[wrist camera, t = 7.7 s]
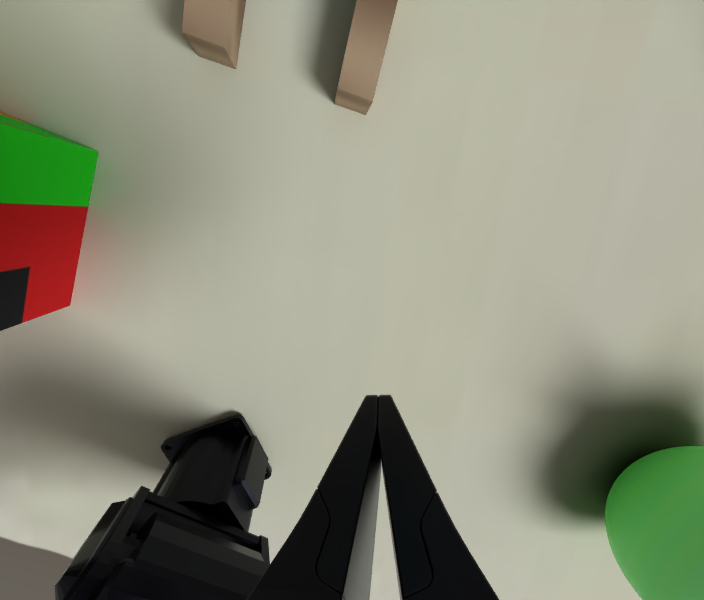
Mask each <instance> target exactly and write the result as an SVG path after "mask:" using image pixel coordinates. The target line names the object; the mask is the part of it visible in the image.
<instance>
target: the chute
mask: <svg viewBox="0 0 704 600" xmlns="http://www.w3.org/2000/svg"><path fill="white" fill-rule="evenodd" d="M397 1H398V0H357V1H356V5H355V10H354V15H353V19H352V24H351V28H350V33H349V37H348V42H347V46H346V51H345V56H344V60H343V65H342V69H341V74H340V78H339V83H338V87H337V93H336V99H335V104H336V105H339V106H342V107H345V108H348V109H350V110H353V111H356V112H359V113H362V114H365V115H366V114H367V112H368V110H369V108H370V106H371V104H372V102H373V98H374V94H375V90H376V86H377V82H378V78H379V73H380V69H381V65H382V61H383V57H384V53H385V49H386V45H387V41H388V37H389V33H390V29H391V25H392V21H393V17H394V13H395V9H396V5H397ZM245 2H246V0H184V11H183V21H182V31H181V32H182V33H183V35H184V36H185V37H186V39H187V40H188V42H189V43H190V44H191V46H192V47H193V48H194V50H195V51H196V53H197V54H198V55H199V56H200V57H203V58H206V59H209V60H212V61H215V62H217V63H220V64H223V65H226V66H229V67H232V68H234V69H236V66H237V59H238V52H239V45H240V38H241V30H242V23H243V16H244V9H245Z"/></svg>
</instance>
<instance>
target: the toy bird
mask: <svg viewBox="0 0 704 600" xmlns="http://www.w3.org/2000/svg"><path fill="white" fill-rule="evenodd" d="M605 524H606V531H607V536H608V540H609V543H610V546H611V549H612V552H613V554H614V556H615V558H616V561H617V563H618V565H619V566H620V568H621V570H622V572H623V573H624V575H625V577H626V578H627V580H628V581H629V583H630V584H631V586H632V587H633V588H634V590H635V591H636V592H637V593H638V595H639V596H640V597H641V598H642V600H704V446H681V447H673V448H668V449H663V450H659V451H656V452H653V453H651V454H648V455H646V456H644V457H642V458H640V459H638V460H637V461H635V462H634V463H632V464H631V465H630V466H628V467H627V468H626V469H625V470H624V471H623V472H622V473H621V474H620V475H619V477H618V478H617V479H616V481H615V482H614V484H613V486H612V487H611V490H610V492H609V494H608V497H607V501H606V507H605Z"/></svg>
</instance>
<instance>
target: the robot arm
mask: <svg viewBox="0 0 704 600" xmlns="http://www.w3.org/2000/svg"><path fill="white" fill-rule="evenodd" d="M235 421H239V423H237V422H235ZM168 445H170V446H171V447H170V446H168ZM161 449H162V451H163V453H164V454H165V455H166V457H167V458H168V460H169V461H170V464H169V466H168V467H167V469H166V471H165V472H164V474H163V476H162V478H161V479H160V481H159V483H158V484H157V486H156V488H155V489H154V491H153V493H152V492H150V489H148V488H146V487H143V486H141V487H140V488H139V490H138V491H137V492H136V494H135V495H134V496H133V497H132V498H131V497H129V498H128V499H126V501H121V502H116V503H112V504H111V506H110V507H109V508H108V510H107V511H106V512H105V514H104V515H103V517H102V518H101V519H100V521H99V522H98V524H97V525H96V526H95V528H94V529H93V531H92V532H91V533H90V535H89V536H88V538H87V539H86V541H85V542H84V543H83V545H82V546H81V548H80V549H79V551H78V552H77V554H76V555H75V557H74V558H73V560H72V561H71V563H70V564H69V566H68V567H67V569H66V570H65V572H64V573H63V575H62V576H61V578H60V579H59V581H58V582H57V584H56V585H55V596H56V597H55V600H369V597H370V586H371V575H372V564H373V553H374V542H375V531H376V520H377V509H378V498H379V487H380V475H381V461H382V469H383V477H384V484H385V491H386V499H387V506H388V513H389V520H390V528H391V535H392V542H393V549H394V557H395V564H396V571H397V579H398V586H399V593H400V600H499V599H498V597H497V595H496V594H495V592H494V591H493V589H492V587H491V586H490V584H489V582H488V581H487V579H486V578H485V576H484V574H483V573H482V571H481V569H480V568H479V566H478V565H477V563H476V561H475V560H474V558H473V556H472V555H471V553H470V552H469V550H468V548H467V547H466V545H465V543H464V541H463V540H462V538H461V536H460V534H459V533H458V531H457V529H456V528H455V526H454V524H453V522H452V520H451V518H450V516H449V514H448V512H447V510H446V508H445V506H444V504H443V502H442V500H441V498H440V496H439V494H438V493H437V490H436V488H435V486H434V484H433V482H432V480H431V478H430V475H429V473H428V471H427V469H426V467H425V465H424V463H423V461H422V459H421V457H420V455H419V453H418V450H417V448H416V446H415V444H414V442H413V440H412V438H411V436H410V434H409V432H408V430H407V428H406V426H405V423H404V421H403V419H402V417H401V415H400V413H399V411H398V409H397V407H396V405H395V403H394V401H393V399H392V397H391V395H379V397H378V396H377V395H367V396H366V397H365V398H364V400H363V402H362V404H361V406H360V408H359V409H358V411H357V413H356V415H355V417H354V419H353V421H352V423H351V425H350V426H349V428H348V430H347V432H346V434H345V436H344V438H343V440H342V442H341V443H340V445H339V447H338V449H337V451H336V453H335V455H334V457H333V459H332V460H331V462H330V464H329V466H328V468H327V470H326V472H325V474H324V476H323V477H322V479H321V481H320V483H319V485H318V489H316V490H315V492H314V494H313V496H312V498H311V500H310V502H309V504H308V505H307V507H306V509H305V511H304V512H303V514H302V516H301V518H300V520H299V521H298V523H297V524H296V526H295V527H294V529H293V531H292V532H291V534H290V535H289V537H288V539H287V540H286V542H285V543H284V545H283V546H282V548H281V549H280V551H279V552H278V554H277V555H276V557H275V558H274V560H273V561H272V563H271V564H270V561H269V546H268V538H266V537H264V536H261V535H260V536H256V535H254V534H251V533H249V532H248V531H249V526H250V521H251V517H252V512H253V509H255V508H257V507H258V505H259V503H260V499H261V494H262V489H263V484H264V480H265V479H268V478H269V477H270V476H271V472H272V469H271V467H270V465H269V463H268V457H267V455H266V453H265V452H264V450H263V448H262V446H261V444H260V442H259V440H258V439H257V437H256V436H254V435H253V434H252V432H251V430H250V428H249V426H248V424H247V422H246V421H245V419H244V417H243V416H242V415H238V414H237V415H233V416H231V417H228V418H225V419H222V420H219V421H216V422H214V423H211V424H208V425H205V426H202V427H200V428H197V429H194V430H191V431H188V432H185V433H183V434H180V435H177V436H174V437H171V438H169V439H166V440H165V441H164V443H163V444H162V445H161ZM266 472H267V473H266Z"/></svg>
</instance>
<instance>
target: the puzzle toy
mask: <svg viewBox="0 0 704 600" xmlns="http://www.w3.org/2000/svg"><path fill="white" fill-rule="evenodd" d="M97 156H98V151H96V150H93V149H91V148H88V147H86V146H83V145H81V144H78V143H76V142H73V141H71V140H68V139H66V138H63V137H61V136H58V135H56V134H53V133H51V132H48V131H46V130H43V129H41V128H38V127H36V126H34V125H31V124H29V123H26V122H24V121H21V120H19V119H16V118H14V117H11V116H9V115H6V114H4V113H1V112H0V331H1V330H4V329H7V328H10V327H12V326H15V325H18V324H20V323H23V322H26V321H29V320H31V319H34V318H37V317H40V316H42V315H45V314H48V313H51V312H53V311H56V310H59V309H61V308H64V307H67V306H70V302H71V297H72V292H73V286H74V281H75V275H76V270H77V264H78V259H79V254H80V248H81V243H82V237H83V232H84V226H85V221H86V216H87V210H88V205H89V199H90V194H91V188H92V183H93V177H94V172H95V167H96V161H97Z"/></svg>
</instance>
